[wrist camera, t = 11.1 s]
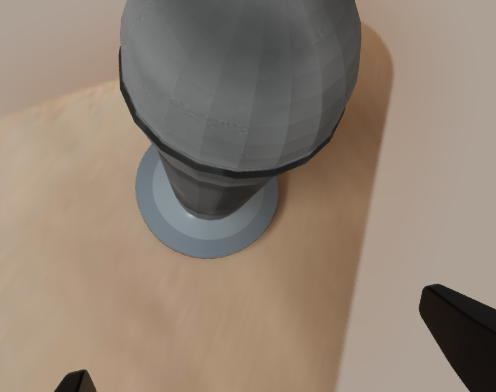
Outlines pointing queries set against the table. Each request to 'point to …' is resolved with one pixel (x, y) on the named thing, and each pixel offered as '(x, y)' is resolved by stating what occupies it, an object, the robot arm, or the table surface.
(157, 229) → the slate dish
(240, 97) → the beverage cup
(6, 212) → the table surface
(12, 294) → the table surface
